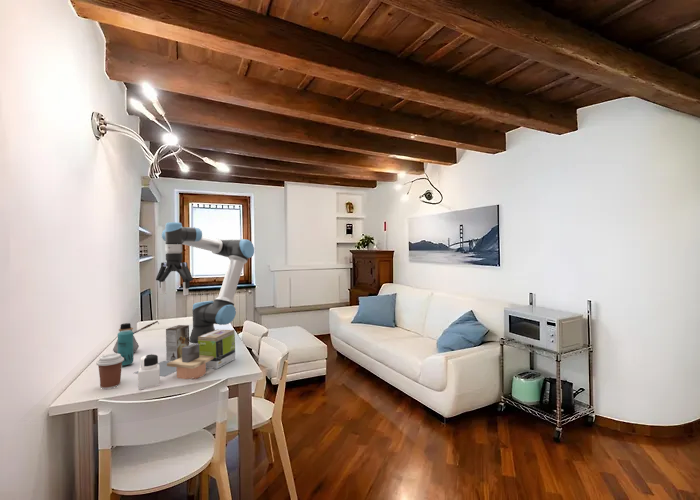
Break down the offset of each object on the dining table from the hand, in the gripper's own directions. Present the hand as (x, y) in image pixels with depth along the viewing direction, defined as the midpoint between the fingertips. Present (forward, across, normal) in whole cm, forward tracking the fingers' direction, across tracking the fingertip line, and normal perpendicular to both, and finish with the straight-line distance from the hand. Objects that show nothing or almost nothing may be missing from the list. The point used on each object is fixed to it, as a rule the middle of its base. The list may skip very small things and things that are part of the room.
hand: (174, 294), depth 175 cm
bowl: (+31, +26, -20) cm, 46 cm away
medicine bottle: (+31, +18, -34) cm, 50 cm away
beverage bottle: (+31, -12, -18) cm, 38 cm away
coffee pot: (+32, -28, +3) cm, 42 cm away
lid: (+26, +26, -20) cm, 42 cm away
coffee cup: (+31, +3, -38) cm, 50 cm away
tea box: (+32, +28, -4) cm, 42 cm away
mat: (+31, +9, -17) cm, 37 cm away
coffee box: (+32, +4, -3) cm, 32 cm away
